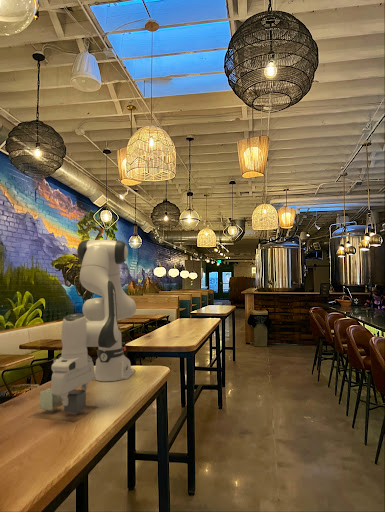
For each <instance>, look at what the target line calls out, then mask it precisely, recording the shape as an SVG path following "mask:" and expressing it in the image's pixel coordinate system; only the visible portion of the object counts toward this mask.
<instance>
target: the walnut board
mask: <svg viewBox="0 0 385 512" xmlns="http://www.w3.org/2000/svg"><path fill="white" fill-rule="evenodd" d="M98 408H99V406H96V405H86V408H84V409H82V410H81V411H80V413H79V414H78V415H76V416H75V415H70V412H64V405H63V402H62V406H60V407H58V408H57V411H55V412H53V413H46V410H44V409H40V410H39V411H36V412H35V413H33V414H31V415H28V418H32V419H40V420H41V419H42V420H50V421H59V422H68V423H76V422H77V421H80V420H81V419H82V418H84V417H86V416H87V415H88V414H90V413H92V412H94V411H95V410H96V409H98Z"/></svg>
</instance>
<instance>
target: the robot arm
mask: <svg viewBox="0 0 385 512" xmlns="http://www.w3.org/2000/svg"><path fill="white" fill-rule="evenodd" d="M127 246H128V245H127V244H126V243H125V241H123V240H114V239H91V240H90V239H85V240H84V239H83V240H82V241H80V242H79V244H78V245H77V249H76V253H77V254H76V255H77V258H78V260H79V261H80V262H81V267H80V271H79V282H80V285H81V286H82V287H83V288H84V289H85V290H87V291H89V292H90V293H93V294H95V295H98V296H101V297H93V298H90V299H86V300H85V302H84V303H83V304H82V313H80V312H79V313H78V312H77V313H71V314H67V315H66V316H64V317H63V320H62V325H61V334H60V335H61V338H60V339H61V340H60V341H61V343H62V349H61V356H59V358H57V359H58V360H57V361H56V362H55V363H54V362H53V363H52V364H51V371H52V375H51V383H50V384H51V388H52V393H53V394H54V395H60V396H61V398H62V403H63V405H64V406H67V405H69V404H70V399H68V397H67V395H68V392H70V391H72V390H74V389H75V390H77V389H78V388H80V387H81V389H80V390H86V391H87V389H88V386H89V383H90V382H92V381H94V380H96V381H97V382H115V381H116V382H117V381H121V380H128V379H129V378H131V376H133V374H135V373H136V369H135V368H131V367H132V366H131V365H132V364H131V360H130V359H129V358H128V357H127V356H126V355H125V354H124V352H126V350H127V347H126V346H123V345H122V344H123V343H122V340H123V339H122V331H121V329H119V324H118V320H126V319H129V318H133V317H134V315H135V314H136V312H137V304H136V301H135V300H134V299H133V298H132V297H130V296H129V295H128V294H127V293H126V292H125V291H124V289H123V287H122V282H121V267H120V265H122V264H124V263H125V262H126V261H127V258H128V256H129V249H128V247H127ZM88 348H97V354H96V355H97V358H96V360H95V365H94V362H93V358H92V357H91V356H90V355H89V354H88V353H89V351H88ZM53 371H54V372H53Z"/></svg>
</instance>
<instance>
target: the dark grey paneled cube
mask: <svg viewBox="0 0 385 512" xmlns="http://www.w3.org/2000/svg"><path fill="white" fill-rule="evenodd" d="M86 396H87V390H81V389H74V390H72V391H70V392H68V395H67V397H68V399H70V404H69V405H67V406H64V412H74V413H77V412H79V411H81V410H82V409H84V408H86V404H87V401H86V399H87V397H86Z"/></svg>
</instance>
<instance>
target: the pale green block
mask: <svg viewBox="0 0 385 512" xmlns="http://www.w3.org/2000/svg"><path fill="white" fill-rule="evenodd" d="M39 396H40V397H39V409H40V410H43V409H44V410H46V413H53V412H55V411H57V408H58V407H60V406H62V403H63V400H62V398H61V396H60V395H54V394H53V393H52V387H48V388H46V389H43V390H41V391H39Z"/></svg>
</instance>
